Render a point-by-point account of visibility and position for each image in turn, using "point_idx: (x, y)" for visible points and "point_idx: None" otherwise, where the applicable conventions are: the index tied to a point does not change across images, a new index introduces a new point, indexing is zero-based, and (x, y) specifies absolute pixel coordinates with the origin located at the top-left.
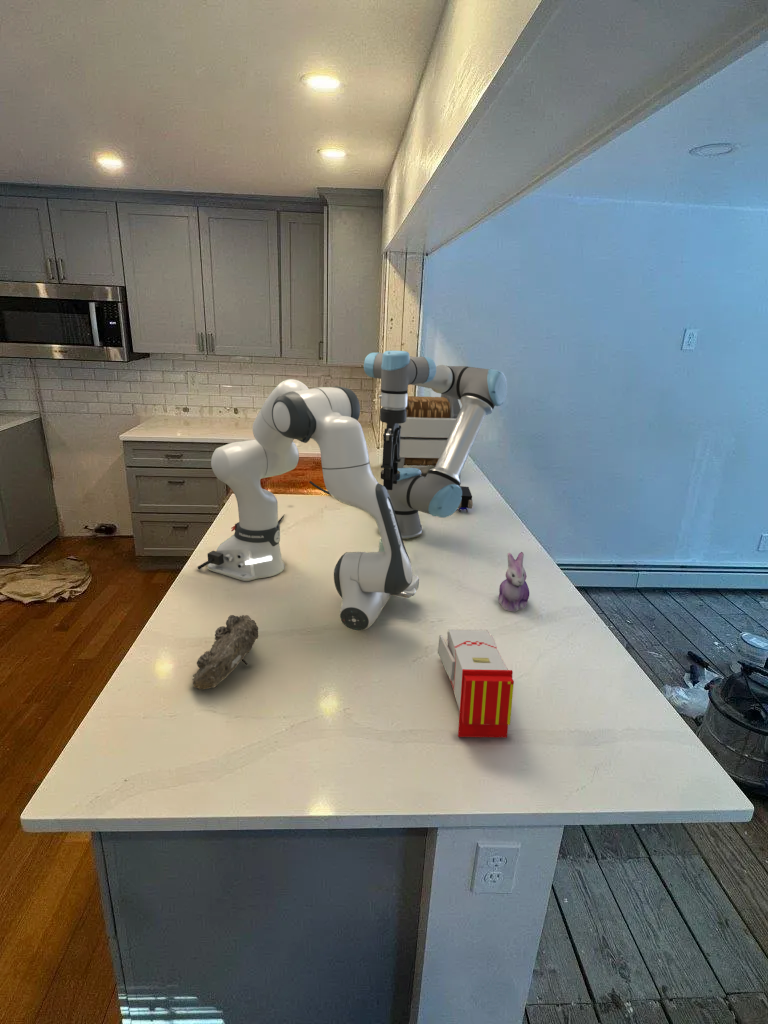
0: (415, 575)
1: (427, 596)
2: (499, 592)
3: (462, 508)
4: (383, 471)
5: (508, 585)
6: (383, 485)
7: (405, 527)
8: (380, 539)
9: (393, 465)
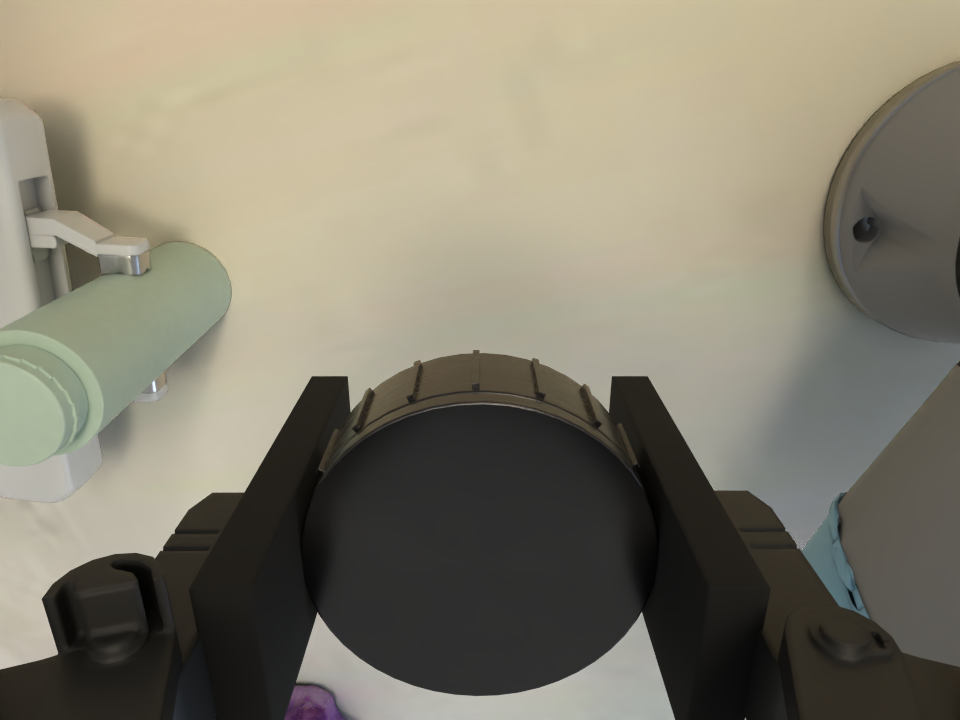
0: (60, 488)
1: (212, 459)
2: (300, 705)
3: None
4: (448, 451)
5: None
6: (296, 405)
7: (883, 271)
8: (18, 334)
9: (675, 634)
